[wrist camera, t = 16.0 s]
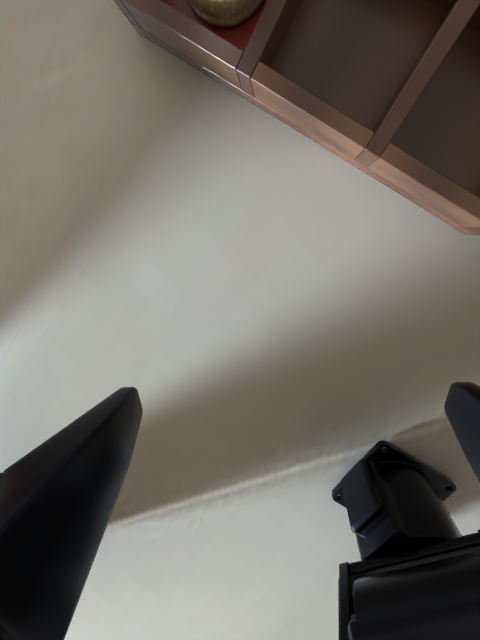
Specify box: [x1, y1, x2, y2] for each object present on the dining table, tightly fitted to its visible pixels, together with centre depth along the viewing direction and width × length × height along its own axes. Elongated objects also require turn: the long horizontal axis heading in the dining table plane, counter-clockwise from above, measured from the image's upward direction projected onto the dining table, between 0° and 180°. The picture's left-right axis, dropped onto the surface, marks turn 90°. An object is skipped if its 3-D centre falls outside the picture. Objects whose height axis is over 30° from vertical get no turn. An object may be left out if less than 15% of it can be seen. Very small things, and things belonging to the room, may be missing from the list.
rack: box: [114, 0, 480, 235], centre depth 15 cm, size 22×8×3 cm, turn 60°
